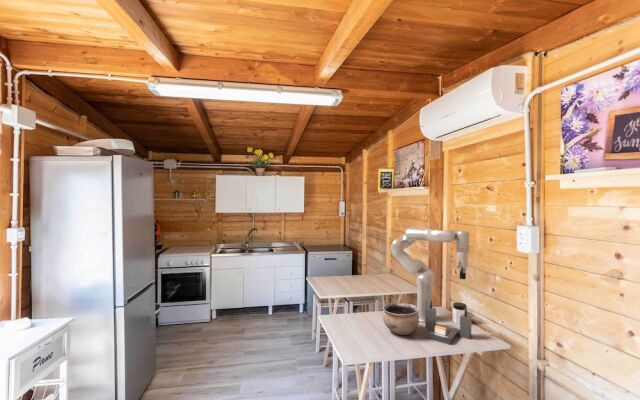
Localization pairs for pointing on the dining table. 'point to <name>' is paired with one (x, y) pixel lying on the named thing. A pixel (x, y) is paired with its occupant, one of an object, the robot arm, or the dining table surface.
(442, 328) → the block
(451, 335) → the breaker panel
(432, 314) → the left plug adapter
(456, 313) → the jar
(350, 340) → the dining table surface
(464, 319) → the right plug adapter
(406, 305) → the ceramic bowl
